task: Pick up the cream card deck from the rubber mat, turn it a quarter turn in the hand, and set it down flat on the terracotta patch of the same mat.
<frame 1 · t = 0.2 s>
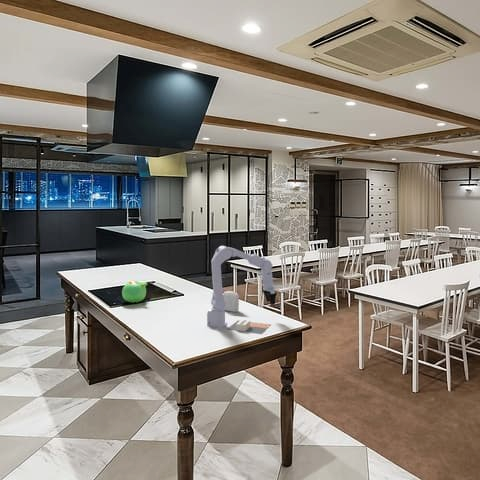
hand: (270, 302, 229), 11 cm above the kitchen island, tool pointing down, fingers open, 7 cm apart
green apple: (135, 302, 271), on the kitchen island
card deck: (243, 328, 215), resting on mat
mat: (249, 327, 218), on the kitchen island
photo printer: (230, 311, 251), on the kitchen island
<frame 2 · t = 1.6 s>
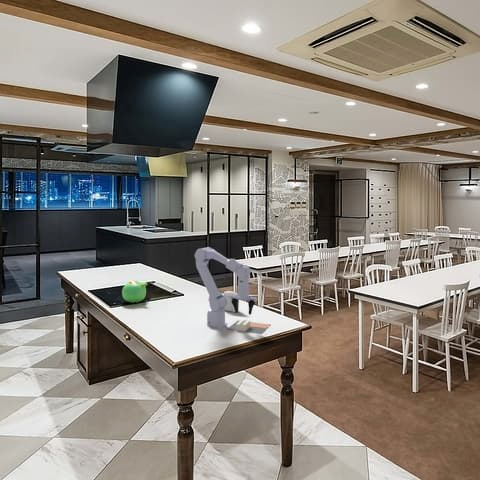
hand: (243, 313, 214), 9 cm above the kitchen island, tool pointing down, fingers open, 7 cm apart
nothing on the kitchen island moved.
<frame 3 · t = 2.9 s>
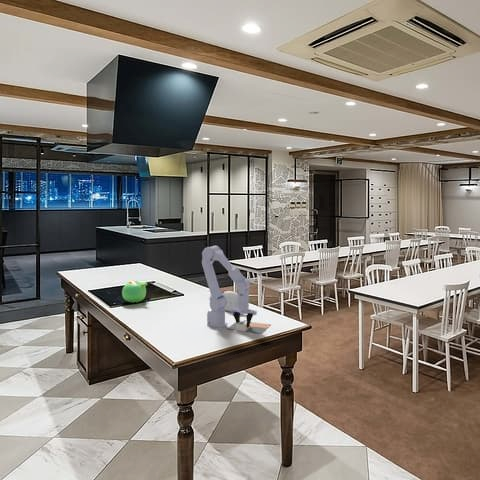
hand: (243, 326, 215), 2 cm above the kitchen island, tool pointing down, fingers closed on card deck, 5 cm apart
card deck: (243, 328, 215), resting on mat, touching gripper
everything else where it was.
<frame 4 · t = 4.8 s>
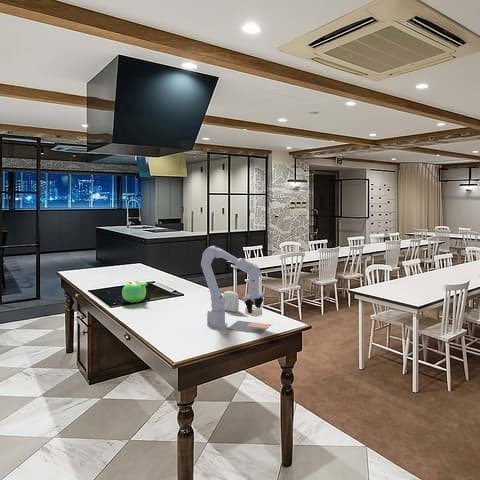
hand: (253, 312, 218), 8 cm above the kitchen island, tool pointing down, fingers closed on card deck, 5 cm apart
card deck: (253, 314, 218), point 7 cm above the kitchen island, touching gripper
everything else where it was.
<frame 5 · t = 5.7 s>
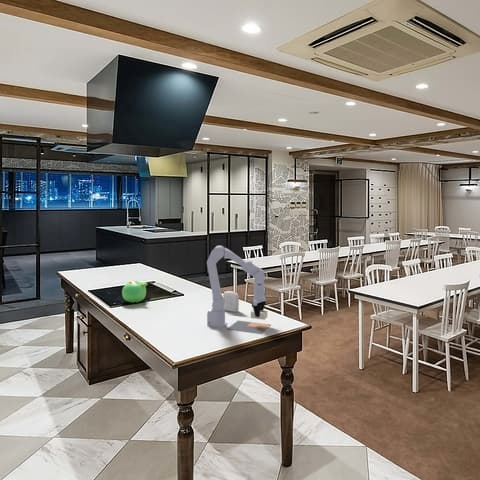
hand: (259, 315, 220), 6 cm above the kitchen island, tool pointing down, fingers closed on card deck, 5 cm apart
card deck: (259, 317, 220), point 5 cm above the kitchen island, touching gripper
everything else where it was.
when the fingers open (3 cm above the kitchen island, at t = 6.7 s): card deck drops 1 cm, resting on mat.
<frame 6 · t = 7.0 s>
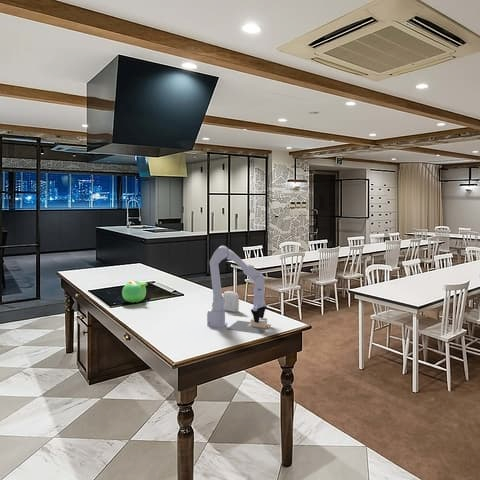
hand: (258, 320, 220), 3 cm above the kitchen island, tool pointing down, fingers open, 7 cm apart
card deck: (258, 325, 221), resting on mat
everything else where it was.
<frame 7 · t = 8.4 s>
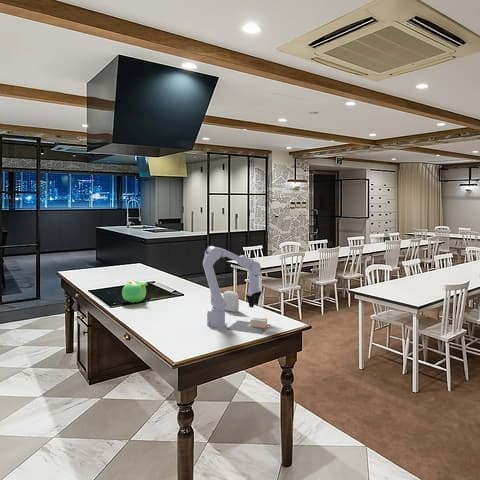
hand: (253, 305, 228), 9 cm above the kitchen island, tool pointing down, fingers open, 7 cm apart
nothing on the kitchen island moved.
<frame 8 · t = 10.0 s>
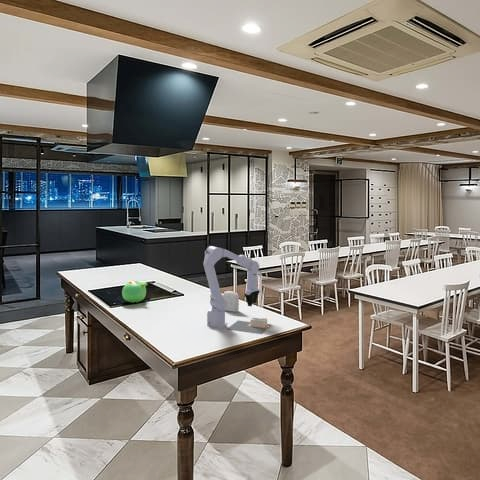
hand: (252, 304, 230), 9 cm above the kitchen island, tool pointing down, fingers open, 7 cm apart
nothing on the kitchen island moved.
at the end: card deck 0.1 cm from the target spot, point 0.5 cm above the kitchen island; card deck tilted 0°; the gripper is holding nothing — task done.
